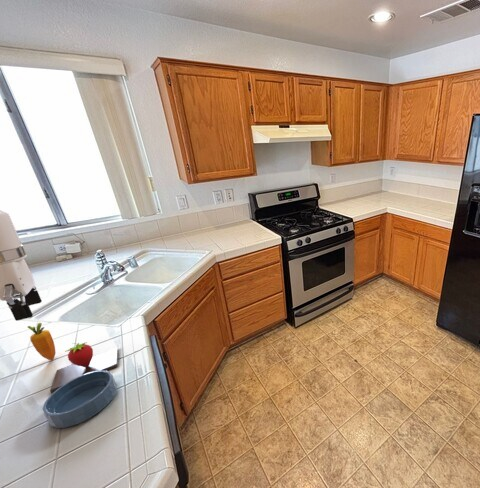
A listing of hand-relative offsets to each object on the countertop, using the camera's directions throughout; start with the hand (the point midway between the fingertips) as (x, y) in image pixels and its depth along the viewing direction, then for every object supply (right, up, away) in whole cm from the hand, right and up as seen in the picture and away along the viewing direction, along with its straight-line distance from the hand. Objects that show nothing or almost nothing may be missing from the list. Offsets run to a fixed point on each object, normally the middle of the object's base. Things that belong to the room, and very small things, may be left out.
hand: (29, 310), depth 75 cm
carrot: (-11, -22, +16) cm, 29 cm away
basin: (+18, -26, -2) cm, 32 cm away
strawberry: (+7, -21, +10) cm, 25 cm away
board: (+7, -22, +11) cm, 26 cm away
